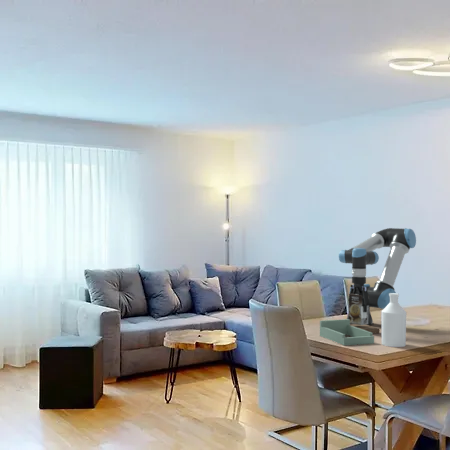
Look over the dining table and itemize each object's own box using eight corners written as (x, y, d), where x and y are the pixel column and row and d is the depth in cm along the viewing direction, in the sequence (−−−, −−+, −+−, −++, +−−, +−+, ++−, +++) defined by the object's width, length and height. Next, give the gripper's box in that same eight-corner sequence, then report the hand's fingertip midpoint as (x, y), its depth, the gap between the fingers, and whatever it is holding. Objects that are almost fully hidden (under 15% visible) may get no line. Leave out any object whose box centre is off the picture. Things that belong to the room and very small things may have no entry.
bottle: (395, 348, 283) (396, 295, 283) (375, 343, 293) (376, 293, 292) (411, 345, 290) (411, 294, 290) (391, 341, 299) (391, 291, 299)
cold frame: (319, 335, 312) (319, 320, 312) (348, 334, 317) (348, 319, 317) (343, 345, 288) (343, 328, 288) (374, 343, 293) (374, 327, 293)
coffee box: (348, 323, 327) (348, 293, 327) (355, 321, 331) (355, 292, 331) (361, 325, 320) (361, 295, 320) (368, 324, 324) (369, 294, 324)
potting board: (338, 329, 330) (338, 325, 330) (363, 328, 335) (363, 323, 335) (353, 334, 315) (353, 330, 315) (379, 333, 320) (379, 328, 320)
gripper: (342, 274, 335) (341, 313, 335) (364, 278, 313) (363, 320, 313) (354, 274, 337) (353, 313, 337) (376, 278, 315) (376, 319, 316)
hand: (358, 316), depth 325 cm, fingers closed on coffee box, 10 cm apart
